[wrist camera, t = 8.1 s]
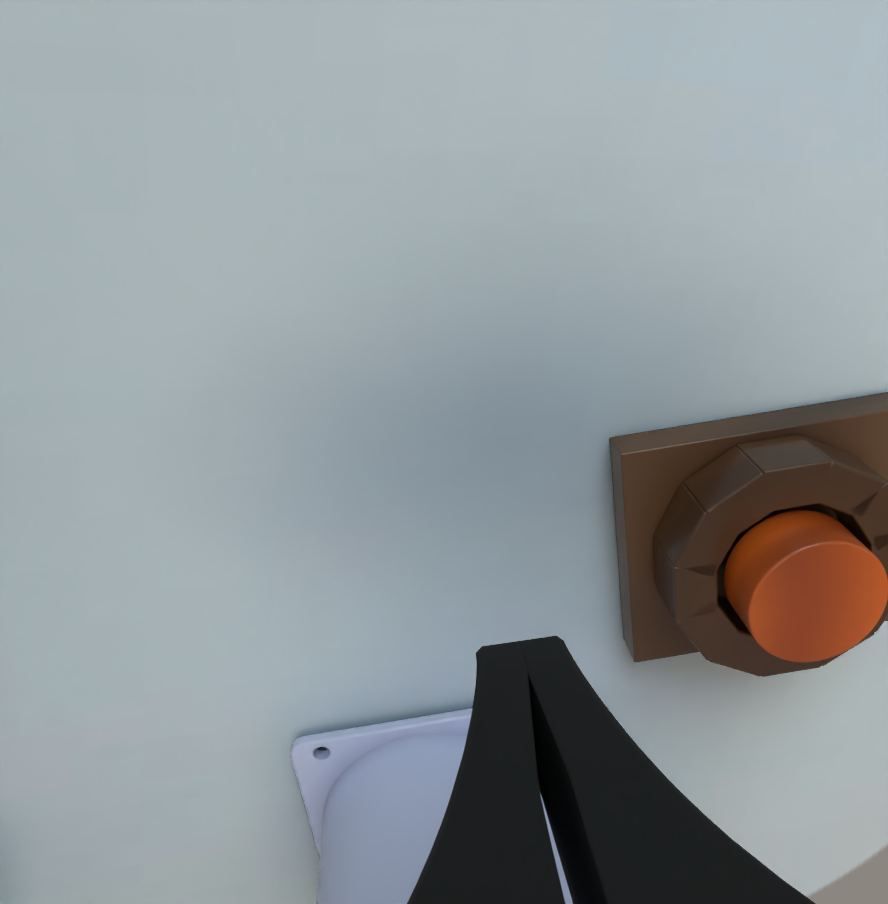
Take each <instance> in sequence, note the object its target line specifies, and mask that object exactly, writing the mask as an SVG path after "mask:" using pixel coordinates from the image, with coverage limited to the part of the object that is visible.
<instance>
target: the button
mask: <svg viewBox="0 0 888 904" xmlns="http://www.w3.org/2000/svg"><path fill="white" fill-rule="evenodd" d="M724 589H725V593H726V596H727V598H728V600H729V602H730V604H731V605H732V607H733V608H734V610H735V611H736V613H737V614H738V615H739V617H740V618H741V620H742V621H743V623H744V624H745V626H746V627H747V629H748V630H749V632H750V633H751V635H752V636H753V637H754V639H755V640H756V642H757V643H758V644H759V645H760V646H761V647H762V648H763V649H764V650H765V651H767V652H768V653H770V654H772V655H774V656H776V657H778V658H781V659H784V660H788V661H793V662H814V661H820V660H824V659H828V658H831V657H834V656H836V655H838V654H841V653H843V652H845V651H847V650H848V649H850V648H852V647H853V646H855V645H856V644H857V643H859V642H860V641H861V640H862V639H864V638H865V637H866V636H867V635H868V634H869V633H870V632H871V631H872V629H873V628H874V627H875V625H876V624H877V623H878V621H879V619H880V618H881V616H882V614H883V612H884V610H885V607H886V604H887V600H888V578H887V574H886V571H885V569H884V567H883V565H882V563H881V562H880V560H879V559H878V558H877V557H876V556H875V555H874V554H873V553H872V552H871V551H870V550H869V549H868V548H867V547H866V546H865V545H864V544H862V543H861V542H860V541H859V540H858V539H857V538H856V537H855V536H854V535H853V534H852V533H851V532H850V531H849V530H848V529H846V528H845V527H844V526H843V525H842V524H841V523H840V522H839V521H837V520H836V519H834V518H833V517H831V516H829V515H826V514H824V513H820V512H816V511H809V510H796V511H788V512H784V513H780V514H777V515H774V516H772V517H769V518H767V519H765V520H763V521H762V522H760V523H758V524H757V525H755V526H754V527H753V528H751V529H750V530H749V531H748V532H747V533H746V534H744V535H743V536H742V538H741V539H740V540H739V541H738V542H737V544H736V545H735V546H734V548H733V549H732V551H731V553H730V555H729V557H728V560H727V563H726V566H725V571H724Z"/></svg>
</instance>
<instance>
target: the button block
mask: <svg viewBox="0 0 888 904" xmlns="http://www.w3.org/2000/svg"><path fill="white" fill-rule="evenodd" d="M610 449H611V463H612V477H613V491H614V505H615V519H616V534H617V548H618V562H619V576H620V590H621V604H622V618H623V632H624V640H625V642H626V645H627V647H628V649H629V651H630V654H631V656H632V658H633V660H634V662H641V661H647V660H653V659H659V658H665V657H671V656H677V655H683V654H689V653H695V652H700V653H701V654H702V655H703V656H704V657H705V659H706V660H709V661H711V662H714V663H717V664H720V665H724V666H727V667H730V668H733V669H737V670H740V671H743V672H747V673H750V674H753V675H757V676H763V677H764V676H770V675H776V674H782V673H788V672H795V671H801V670H807V669H813V668H819V667H821V666H824V665H826V664H827V663H829V662H830V661H832V660H834V659H835V658H837V657H838V656H840V655H842V654H843V653H845V652H846V651H845V652H843V653H841V654H838V655H836V656H834V657H831V658H828V659H824V660H820V661H814V662H793V661H788V660H784V659H781V658H778V657H776V656H774V655H772V654H770V653H768V652H767V651H765V650H764V649H763V648H762V647H761V646H760V645H759V644H758V643H757V642H756V640H755V639H754V637H753V636H752V635H751V633H750V632H749V630H748V629H747V627H746V626H745V624H744V623H743V621H742V620H741V618H740V617H739V615H738V614H737V613H736V611H735V610H734V608H733V607H732V605H731V604H730V602H729V600H728V598H727V596H726V593H725V589H724V571H725V566H726V563H727V560H728V557H729V555H730V553H731V551H732V549H733V548H734V546H735V545H736V544H737V542H738V541H739V540H740V539H741V538H742V536H743V535H744V534H746V533H747V532H748V531H749V530H750V529H751V528H753V527H754V526H755V525H757V524H758V523H760V522H762V521H763V520H765V519H767V518H769V517H772V516H774V515H777V514H780V513H784V512H788V511H796V510H809V511H816V512H820V513H824V514H826V515H829V516H831V517H833V518H834V519H836V520H837V521H839V522H840V523H841V524H842V525H843V526H844V527H845V528H846V529H848V530H849V531H850V532H851V533H852V534H853V535H854V536H855V537H856V538H857V539H858V540H859V541H860V542H861V543H862V544H864V545H865V546H866V547H867V548H868V549H869V550H870V551H871V552H872V553H873V554H874V555H875V556H876V557H877V558H878V559H879V560H880V562H881V563H882V565H883V567H884V569H885V571H886V574H887V578H888V392H886V393H880V394H874V395H868V396H862V397H856V398H850V399H844V400H838V401H831V402H825V403H819V404H813V405H807V406H801V407H795V408H789V409H782V410H776V411H770V412H764V413H758V414H752V415H746V416H740V417H733V418H727V419H721V420H715V421H709V422H703V423H697V424H691V425H684V426H678V427H672V428H666V429H660V430H654V431H648V432H642V433H635V434H629V435H623V436H617V437H611V438H610ZM884 621H888V600H887V604H886V607H885V610H884V612H883V614H882V616H881V618H880V619H879V621H878V623H877V624H876V625H875V627H874V628H873V629H872V631H871V632H870V633H869V634H868V635H867V636H866V637H865V638H864V639H862V640H861V641H860V642H859V643H861V642H863V641H864V640H866V639H867V638H869V637H871V636H872V635H874V632H876V631H877V630H878V629H879V628H880V626H881V625H882V623H883V622H884ZM859 643H857V644H856V645H858V644H859ZM856 645H855V646H856ZM855 646H853V647H855ZM853 647H852V648H853ZM850 649H851V648H850ZM850 649H848V650H850ZM848 650H847V651H848Z"/></svg>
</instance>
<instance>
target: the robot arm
mask: <svg viewBox="0 0 888 904" xmlns="http://www.w3.org/2000/svg"><path fill="white" fill-rule="evenodd" d="M476 659H477V677H476V688H475V696H474V703H473V708H470V709H464V710H458V711H452V712H446V713H440V714H434V715H428V716H422V717H416V718H410V719H404V720H397V721H391V722H385V723H379V724H373V725H367V726H361V727H355V728H349V729H343V730H337V731H331V732H325V733H319V734H313V735H307V736H302V737H299V738H297V739H296V740H295V741H294V742H293V744H292V746H291V760H292V763H293V767H294V770H295V774H296V777H297V781H298V784H299V788H300V791H301V795H302V798H303V801H304V805H305V808H306V812H307V815H308V819H309V822H310V826H311V829H312V833H313V836H314V840H315V843H316V847H317V850H318V853H319V857H320V868H319V881H318V895H317V904H815V903H814V902H813V901H811V900H810V899H808V898H807V897H806V896H804V895H803V894H801V893H800V892H799V891H797V890H796V889H795V888H793V887H792V886H790V885H789V884H788V883H786V882H785V881H783V880H782V879H781V878H780V877H778V876H777V875H776V874H775V873H773V872H772V871H771V870H770V869H768V868H767V867H766V866H765V865H763V864H762V863H761V862H760V861H758V860H757V859H756V858H755V857H753V856H752V855H751V854H750V853H748V852H747V851H746V850H745V849H743V848H742V847H741V846H740V845H738V844H737V843H736V842H735V841H733V840H732V839H731V838H730V837H729V836H728V835H726V834H725V833H724V832H723V831H722V830H721V829H720V828H719V827H718V826H716V825H715V824H714V823H713V822H712V821H711V820H710V819H709V818H708V817H706V816H705V815H704V814H703V813H702V812H701V811H700V810H699V809H698V808H697V807H696V806H695V805H694V804H693V803H692V802H690V801H689V800H688V799H687V798H686V797H685V796H684V795H683V794H682V793H681V792H680V791H679V790H678V789H677V788H676V787H675V786H674V785H673V784H672V783H671V782H670V781H669V780H668V779H667V777H666V776H665V775H664V774H663V773H662V772H661V771H660V770H659V769H658V768H657V767H656V766H655V765H654V763H653V762H652V761H651V760H650V759H649V758H648V757H647V756H646V755H645V753H644V752H643V751H642V750H641V749H640V748H639V747H638V746H637V744H636V743H635V742H634V741H633V740H632V738H631V737H630V736H629V735H628V734H627V733H626V731H625V730H624V729H623V727H622V726H621V725H620V724H619V722H618V721H617V720H616V719H615V717H614V716H613V715H612V714H611V712H610V711H609V710H608V708H607V707H606V706H605V705H604V703H603V702H602V701H601V699H600V698H599V697H598V695H597V694H596V692H595V691H594V689H593V688H592V687H591V685H590V684H589V682H588V681H587V679H586V678H585V677H584V675H583V673H582V672H581V670H580V669H579V667H578V666H577V664H576V662H575V661H574V659H573V657H572V656H571V654H570V652H569V650H568V649H567V647H566V645H565V643H564V641H563V640H562V639H560V638H559V637H557V636H552V637H545V638H538V639H531V640H524V641H517V642H510V643H503V644H496V645H489V646H482V647H481V648H480V649H479V650H478V651H477V653H476ZM318 747H325V748H327V750H325V751H320V750H318V749H316V748H318Z"/></svg>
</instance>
